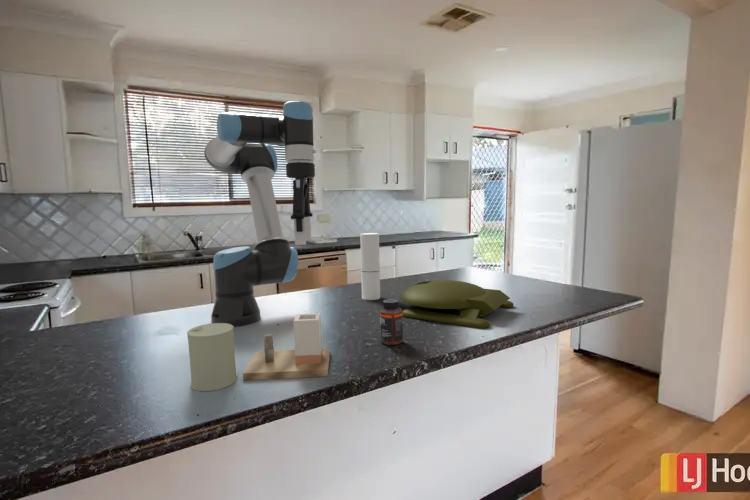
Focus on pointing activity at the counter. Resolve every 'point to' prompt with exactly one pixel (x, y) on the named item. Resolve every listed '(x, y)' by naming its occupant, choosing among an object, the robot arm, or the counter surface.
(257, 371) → the pin board
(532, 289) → the counter surface
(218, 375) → the can
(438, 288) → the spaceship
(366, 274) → the cylindrical container
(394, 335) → the supplement bottle
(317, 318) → the sleeve
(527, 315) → the counter surface
